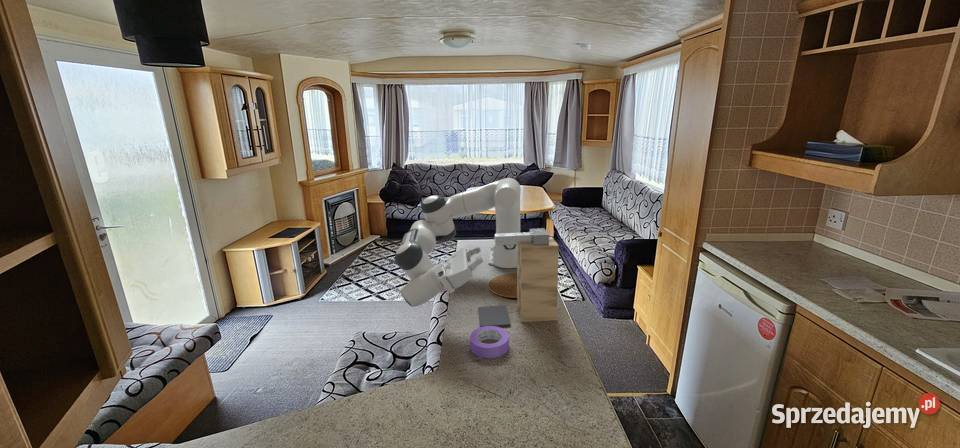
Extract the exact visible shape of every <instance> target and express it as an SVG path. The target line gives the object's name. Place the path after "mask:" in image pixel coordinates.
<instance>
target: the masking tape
mask: <svg viewBox="0 0 960 448" xmlns="http://www.w3.org/2000/svg"><path fill="white" fill-rule="evenodd" d="M469 338H470V349H471V352H472V353H473V354H474V355H476V356H477V357H481V358H484V359H496V358H499V357H501V356H503V355H505V354H506V353H507V352H508V351H509V347H510V345H509V344H510V341H509V340H510V339H509V338H510V336H509V333H508V332H507V330H505V329H504V328H502V327H496V326H484V327H478V328H476V329H474V330H473V331H472V332H471V334H470V335H469ZM486 340H494V341H496V342H493V343H484V342H483V341H486Z"/></svg>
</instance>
